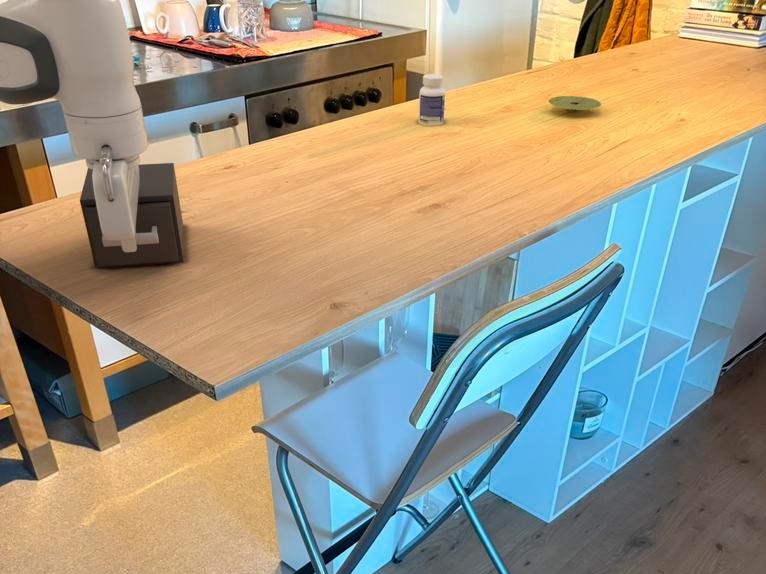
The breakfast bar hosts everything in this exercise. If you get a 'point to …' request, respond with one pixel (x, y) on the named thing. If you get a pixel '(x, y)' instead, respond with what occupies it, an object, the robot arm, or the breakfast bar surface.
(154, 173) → the cabinet
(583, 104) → the grey green disc
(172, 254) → the drawer
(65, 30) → the robot arm
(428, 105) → the pill bottle
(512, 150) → the breakfast bar surface
